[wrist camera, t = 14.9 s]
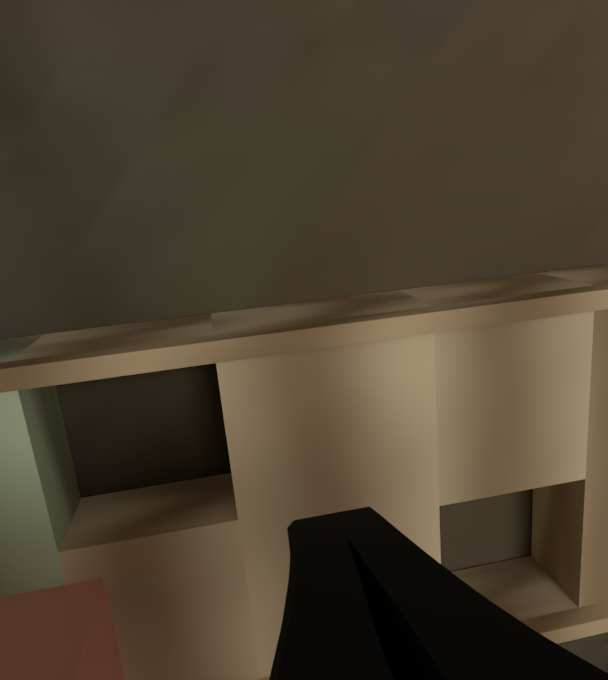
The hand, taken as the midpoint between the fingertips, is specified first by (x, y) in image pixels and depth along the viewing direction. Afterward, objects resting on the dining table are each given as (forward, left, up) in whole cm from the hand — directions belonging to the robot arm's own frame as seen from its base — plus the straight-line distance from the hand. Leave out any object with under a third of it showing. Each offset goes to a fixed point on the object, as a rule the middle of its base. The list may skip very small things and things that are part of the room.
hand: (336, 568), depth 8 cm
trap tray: (-4, -2, -10) cm, 11 cm away
